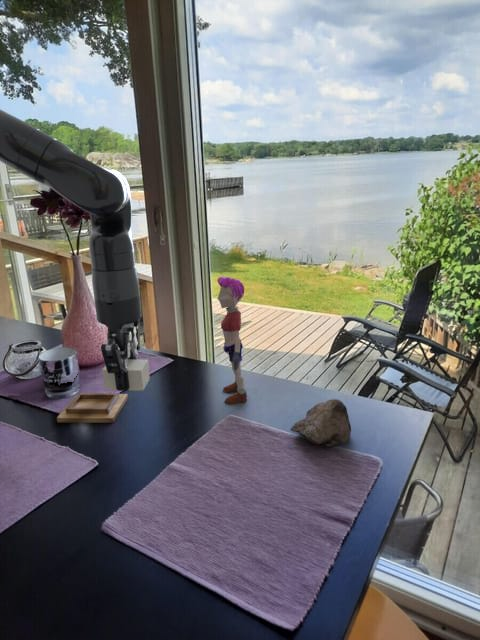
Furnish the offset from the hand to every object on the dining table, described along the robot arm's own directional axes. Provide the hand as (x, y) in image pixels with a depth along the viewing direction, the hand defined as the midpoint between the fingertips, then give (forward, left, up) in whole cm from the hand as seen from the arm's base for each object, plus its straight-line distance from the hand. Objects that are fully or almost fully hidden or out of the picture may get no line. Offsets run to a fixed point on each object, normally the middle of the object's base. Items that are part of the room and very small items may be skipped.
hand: (127, 382), depth 80 cm
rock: (+36, +9, -17) cm, 41 cm away
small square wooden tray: (-16, +19, -17) cm, 30 cm away
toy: (+17, +26, -17) cm, 35 cm away
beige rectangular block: (0, 0, 0) cm, 0 cm away
